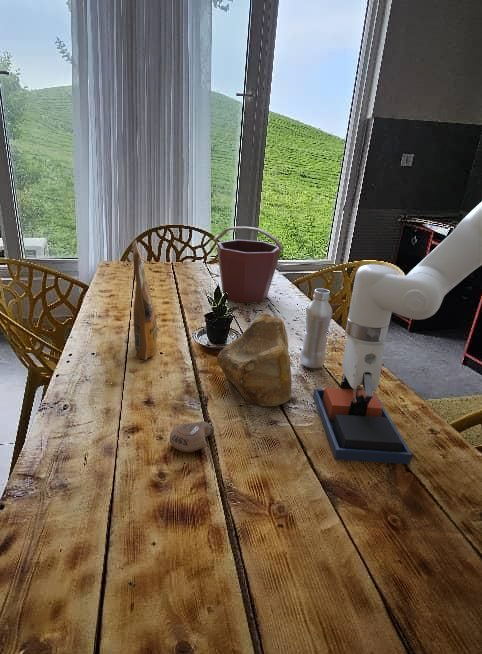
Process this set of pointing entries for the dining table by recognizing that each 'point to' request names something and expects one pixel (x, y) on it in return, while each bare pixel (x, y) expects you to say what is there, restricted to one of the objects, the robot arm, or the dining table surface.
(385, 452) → the pad frame
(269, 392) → the rough brown rock
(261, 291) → the bucket
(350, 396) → the orange red rectangular block
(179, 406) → the dining table surface
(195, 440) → the oil lamp
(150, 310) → the pancake mix bag
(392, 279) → the robot arm
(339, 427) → the pad
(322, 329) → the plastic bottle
